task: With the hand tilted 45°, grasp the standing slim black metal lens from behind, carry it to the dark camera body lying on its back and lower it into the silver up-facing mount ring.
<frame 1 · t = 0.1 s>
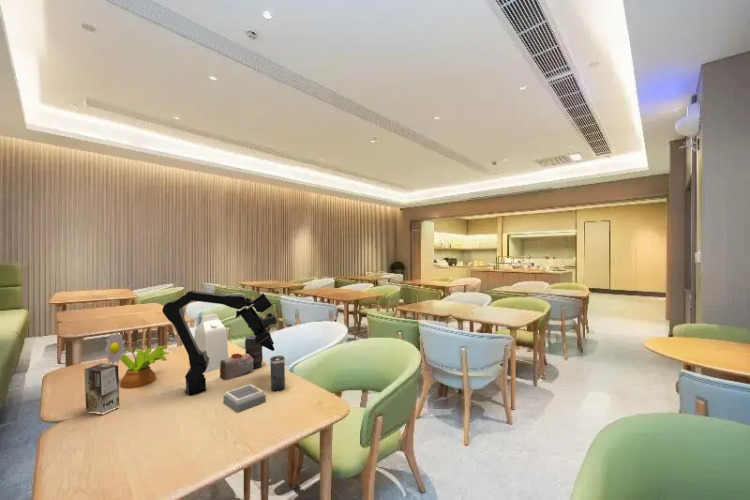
hand: (273, 347, 151), 15 cm above the table, tool tilted 35°, fingers open, 9 cm apart
slim lens: (278, 388, 142), on the table
camera body: (244, 402, 131), on the table
camera lens: (254, 367, 169), on the table
coffee box: (102, 410, 126), on the table
milk: (211, 367, 170), on the table
food item: (237, 375, 159), on the table
decorative plant: (142, 382, 152), on the table
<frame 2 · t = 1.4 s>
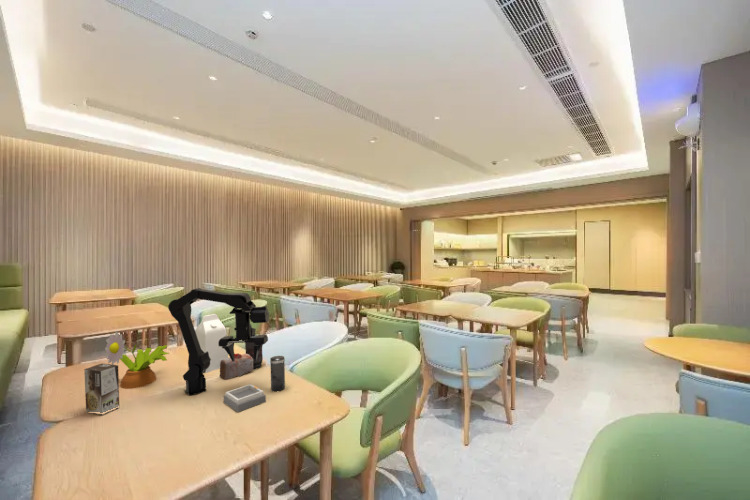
hand: (244, 360, 142), 12 cm above the table, tool pointing down, fingers open, 9 cm apart
nothing on the table moved.
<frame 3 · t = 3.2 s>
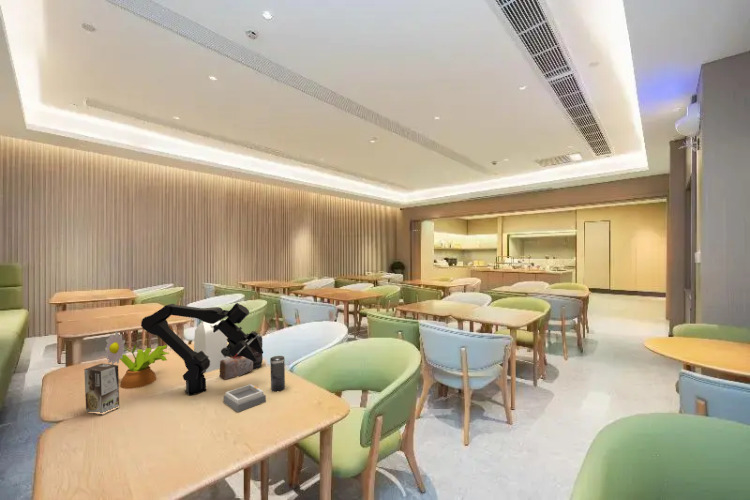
hand: (259, 357, 142), 14 cm above the table, tool tilted 45°, fingers open, 9 cm apart
nothing on the table moved.
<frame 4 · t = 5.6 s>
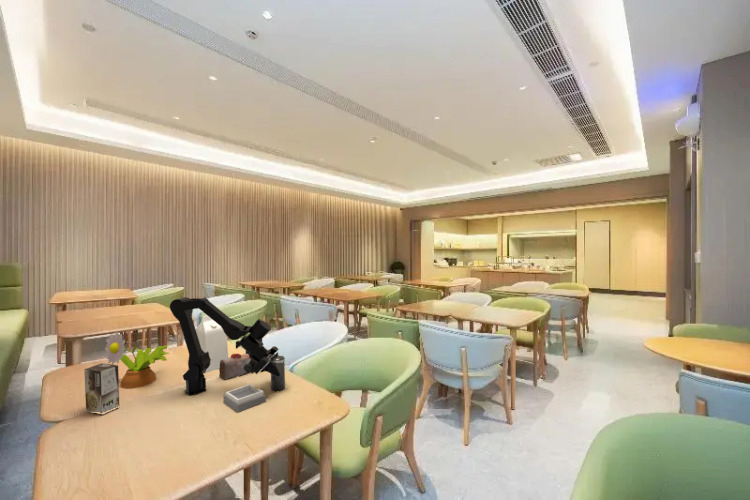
hand: (281, 373, 142), 7 cm above the table, tool tilted 45°, fingers closed on slim lens, 6 cm apart
slim lens: (278, 388, 142), on the table, touching gripper
everything else where it was.
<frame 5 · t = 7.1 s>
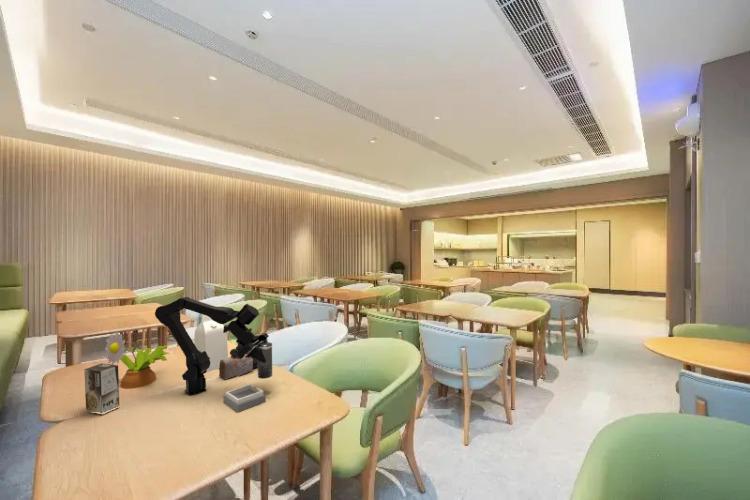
hand: (268, 359, 139), 13 cm above the table, tool tilted 45°, fingers closed on slim lens, 6 cm apart
slim lens: (265, 375, 139), point 7 cm above the table, touching gripper
everything else where it was.
when the fingers open (10 cm above the table, at t = 9.0 s): slim lens stays where it is, resting on camera body.
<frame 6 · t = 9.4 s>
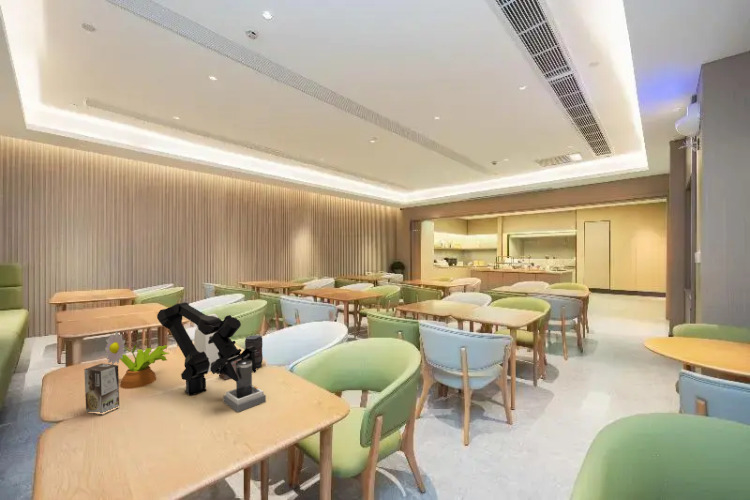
hand: (246, 376, 130), 10 cm above the table, tool tilted 45°, fingers open, 9 cm apart
slim lens: (244, 395, 131), point 3 cm above the table, touching camera body
everything else where it was.
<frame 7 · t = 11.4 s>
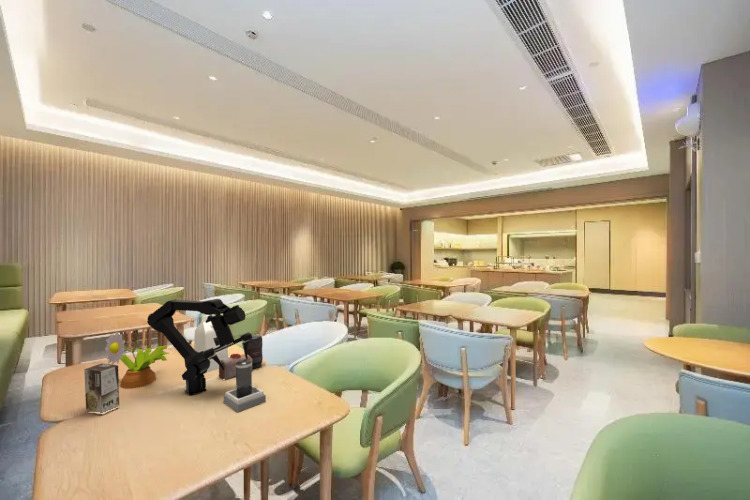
hand: (235, 364, 139), 12 cm above the table, tool tilted 20°, fingers open, 9 cm apart
nothing on the table moved.
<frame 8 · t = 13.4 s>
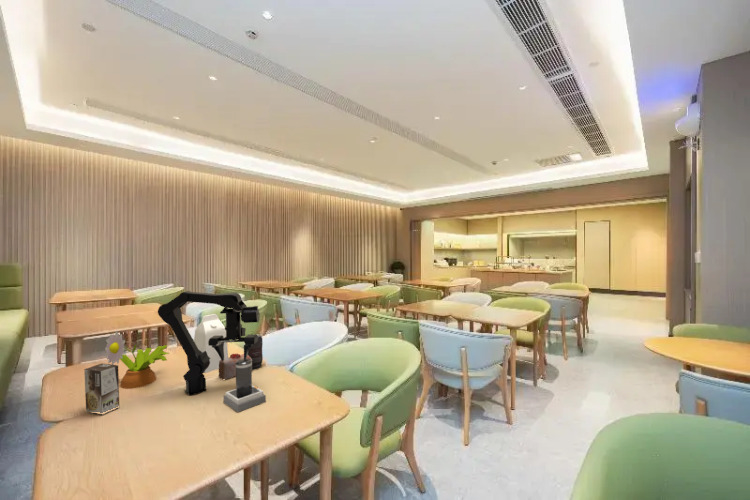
hand: (234, 360, 143), 12 cm above the table, tool pointing down, fingers open, 9 cm apart
nothing on the table moved.
at the end: slim lens 0.1 cm off-centre on the camera body, point 2.5 cm above the camera body's base; slim lens tilted 0°; the gripper is holding nothing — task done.
